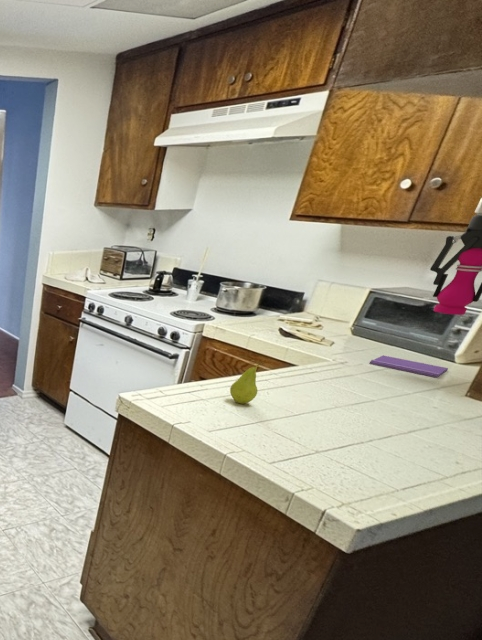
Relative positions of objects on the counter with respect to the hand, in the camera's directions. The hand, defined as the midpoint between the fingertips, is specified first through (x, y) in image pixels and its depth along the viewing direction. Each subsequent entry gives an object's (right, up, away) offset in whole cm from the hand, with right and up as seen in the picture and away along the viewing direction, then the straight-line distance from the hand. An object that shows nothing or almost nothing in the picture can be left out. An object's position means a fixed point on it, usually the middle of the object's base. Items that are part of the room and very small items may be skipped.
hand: (454, 298), depth 136 cm
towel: (+8, -19, +20) cm, 29 cm away
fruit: (-71, -30, -11) cm, 78 cm away
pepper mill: (0, -4, +2) cm, 4 cm away
